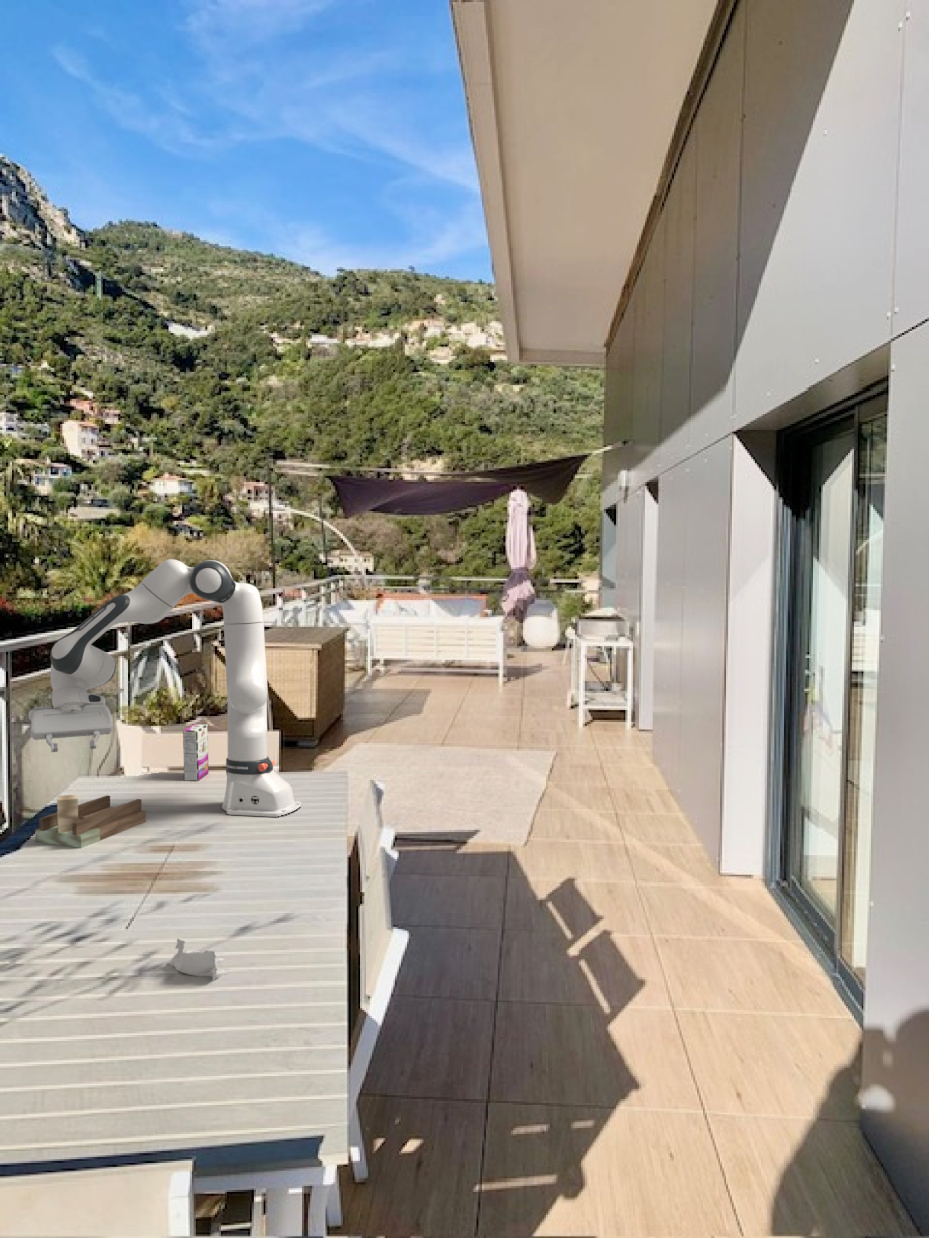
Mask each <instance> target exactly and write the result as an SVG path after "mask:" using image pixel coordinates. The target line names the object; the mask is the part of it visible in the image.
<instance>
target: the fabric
mask: <svg viewBox="0 0 929 1238" xmlns="http://www.w3.org/2000/svg"><path fill="white" fill-rule="evenodd" d="M185 944H186V941H185V940H182V939H180V938H177V939H176V945H175V949H177V953H176V954H174V955H173V957H172V958H171V959H170V960H168V962H167V963H166V964H167V965H169V966H173V967H174V968H175V970H176V971H178V972H180V973H183V974H187V975H189V976H194V977H211V978H212V981H215V980H216V979H219V978H221V977H223V976H225V975H226V974H228V972H227V971H231V969H230V968H229V967H222V968H219V969H218V966H219V965H218V963H221V962H224V958H222V957H221V958H220V957H219V958H217V956H216V953H215V951H214V950H213V951H212V950H207V949H206V950H204V951H200V950H195V949H194V950H193V949H192V950H187V951H185V946H186V945H185ZM225 970H226V971H225Z"/></svg>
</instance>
